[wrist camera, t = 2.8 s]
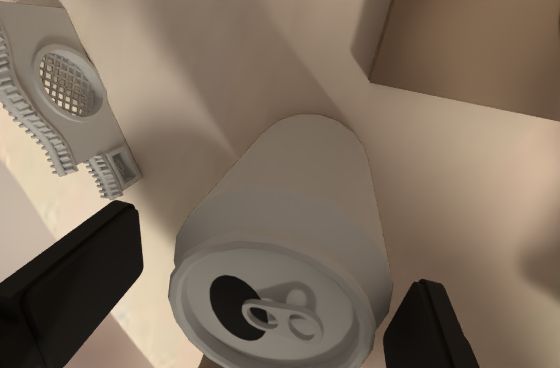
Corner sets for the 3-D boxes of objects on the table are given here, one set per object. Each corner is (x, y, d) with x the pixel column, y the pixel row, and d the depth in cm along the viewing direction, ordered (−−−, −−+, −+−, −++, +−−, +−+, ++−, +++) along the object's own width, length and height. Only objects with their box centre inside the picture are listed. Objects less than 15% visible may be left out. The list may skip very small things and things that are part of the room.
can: (242, 120, 18) (101, 228, 8) (364, 100, 16) (399, 209, 6) (267, 219, 21) (190, 394, 11) (372, 212, 19) (405, 419, 9)
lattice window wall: (147, 179, 22) (86, 222, 17) (129, 182, 22) (63, 224, 17) (67, 1, 17) (-52, -16, 12) (46, 9, 18) (-78, -3, 13)
